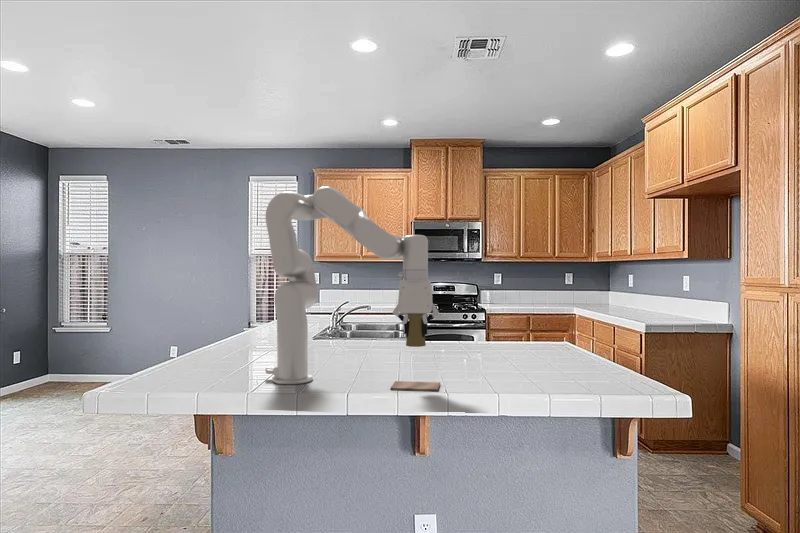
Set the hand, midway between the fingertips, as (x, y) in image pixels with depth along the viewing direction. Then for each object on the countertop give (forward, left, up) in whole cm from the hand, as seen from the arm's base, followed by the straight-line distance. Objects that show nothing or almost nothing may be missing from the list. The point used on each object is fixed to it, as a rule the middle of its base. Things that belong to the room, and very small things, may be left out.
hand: (415, 336), depth 159 cm
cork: (0, 0, -3) cm, 3 cm away
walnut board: (0, 0, -15) cm, 15 cm away
